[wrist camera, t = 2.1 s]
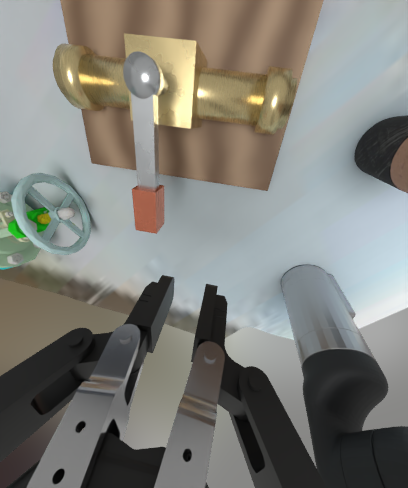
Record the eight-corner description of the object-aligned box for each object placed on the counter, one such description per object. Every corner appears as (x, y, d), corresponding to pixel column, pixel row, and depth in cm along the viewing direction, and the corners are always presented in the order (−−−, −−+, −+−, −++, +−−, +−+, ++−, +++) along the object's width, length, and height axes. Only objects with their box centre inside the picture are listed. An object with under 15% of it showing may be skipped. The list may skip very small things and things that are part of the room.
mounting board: (326, -19, 21) (331, -28, 19) (266, 188, 32) (267, 190, 31) (61, -39, 23) (51, -48, 21) (97, 161, 35) (91, 163, 33)
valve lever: (166, 60, 17) (154, 50, 15) (165, 223, 26) (158, 233, 23) (133, 56, 17) (116, 46, 15) (143, 219, 26) (134, 229, 24)
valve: (-183, 236, 27) (-10, 182, 22) (-40, 198, 42) (80, 161, 38) (-85, 306, 34) (63, 276, 29) (8, 251, 49) (115, 226, 44)
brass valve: (292, 72, 24) (325, 41, 15) (275, 136, 28) (292, 144, 18) (80, 48, 26) (-10, 8, 17) (90, 111, 30) (22, 107, 21)
